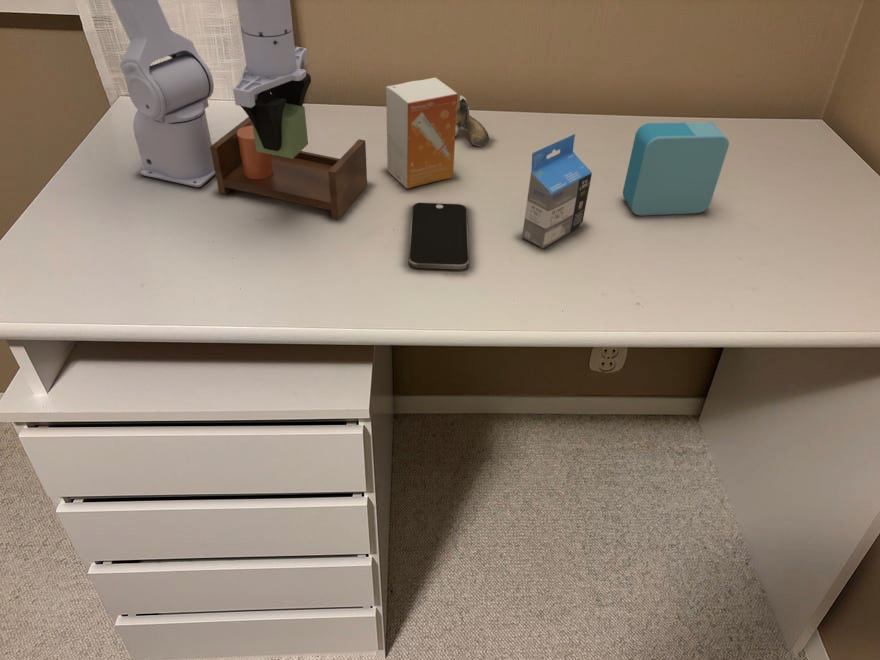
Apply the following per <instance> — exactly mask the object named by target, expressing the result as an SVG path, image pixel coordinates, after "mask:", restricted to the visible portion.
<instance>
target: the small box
mask: <svg viewBox="0 0 880 660" xmlns="http://www.w3.org/2000/svg"><path fill="white" fill-rule="evenodd" d="M385 93H386V94H385V95H386V96H385V99H386V158H387V172H388V173H389V174H390V175H391V176H392V177H393V178H394V179H396V180H397V181H398V182H399V183H400V184H401V185H402V186H404V188H406V189H407V190H409V189H412V188H415V187H418V186H422V185H426V184H430V183H435V182H439V181H442V180H447V179H452V178H453V177H454V167H455V165H454V164H455V148H456V147H455V145H456V136H455V130H456V112H457V109H458V92H457V91H455V90H453V89H452V88H451V87H450V86H448V85H447V84H445V83H443V82H442V81H441V80H440V79H438V78H437V77H431V78H426V79H420V80H411V81H406V82H402V83H398V84H393V85H387V86H385Z"/></svg>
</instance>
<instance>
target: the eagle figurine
mask: <svg viewBox="0 0 880 660" xmlns="http://www.w3.org/2000/svg"><path fill="white" fill-rule="evenodd" d="M458 98H459V101H458V102H459V107H458V108H457V112H456V130H455V137H456V136H457V135H458V133H459V130H460V128H463V129H464V130H466V131H467V132H468V134H469V138H470V143H471V145H472V146H475V147H480V148H482V147H485V146H486V145H488V143H489V142H490V141H489V140H490V136H489V133H488V131H487V129H486V128H485V126H483V124H482V123H481V122H479V121H478V120H477V119H476V118H474V117H472V115H470V107H469V105H468V101H467V99H466V98H465V96H463V95H459V97H458Z"/></svg>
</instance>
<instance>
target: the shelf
mask: <svg viewBox="0 0 880 660" xmlns="http://www.w3.org/2000/svg"><path fill="white" fill-rule="evenodd" d="M246 126H253V125H252V121H251V120H250V118H249V116H247V117H246V118H245V119H243V120H242V121H241V122H239V123H238V124H237V125H235V127H233V128H232V129H230V130H229V131H228V132H227V133H226V134H224V135H223V136H222V137H220V138H219V139H218V140H216V141H215V142H214V143H213V144H212V145H211V146H210V149H211V154H212V159H213V164H214V169H215V179H216V185H217V188H218V193H219V194H221V195H227V194H228V193H229V192H230V191H232V190H237V191H241V192H245V193H251V194H255V195H260V196H263V197H267V198H273V199H278V200H282V201H286V202H287V201H288V202H291V203H295V204H299V205H304V206H305V205H306V206H309V207H314V208H318V209H323V210H329V211H331V219H335V220H340V219H341V218H342V216H343V215H344V214H345V212H346V211H348V209H349V208H350V207H351V206H352V204H353V203H354V202H355V201H356V200H357V198H358V197H359V196H360V195H361V194H362V193H363V191H364V190H365V189H366V188H367V187H368V173H367V172H368V171H367V169H368V167H367V147H366V140H365V139H361V138H360V139H357V140H356V142H355V143H354V144H353V145H352V146H351V147H349V149H348V150H347V151H346V152H345V153H344V154H343V155H342V156H341V157H340V158H338V157H334V156H328V155H325V154H324V155H323V154H320V153H319V154H318V153H313V152H309V151H304V150H301V151H300V152H299V153H298V154H297V155H296V156H295V157H294V158H293V159H291V158H286V157H282V156H277V155H272V154H271V159H272V166H273V174H272V175H271V176H270V177H268V178H265V179H259V180H256V179H250V178H247V177H246V176H245V175H244V173H243V167H242V161H241V155H240V149H239V144H238V138H237V131H238V130H239V129H241V128H243V127H246Z"/></svg>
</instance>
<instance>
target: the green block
mask: <svg viewBox="0 0 880 660" xmlns="http://www.w3.org/2000/svg"><path fill="white" fill-rule="evenodd" d="M252 125H253V123H252ZM281 128H282V144H281V149H280V150H279V151H274V150H269V149H264V147H263V145H262V143H261V141H260V138H259V136H258V134H257V131H256V129H255V127H254V125H253V132H254V138H255V145H256V151H257V152H262V153H267V154H272V155H277V156H282V157H286V158H291V159H293V158H294V157H295V156H296V155H297V154H298V153H299V152H300V151H303V150H304V149H305V148H306V147H307V146H308V145H309V139H308V138H309V137H308V128H307V119H306V107H305V106H304V105H303V106H298V105H293V104H288V103H285V106H284V110H283V115H282V124H281Z"/></svg>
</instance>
